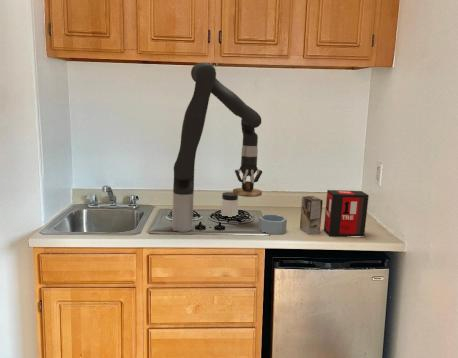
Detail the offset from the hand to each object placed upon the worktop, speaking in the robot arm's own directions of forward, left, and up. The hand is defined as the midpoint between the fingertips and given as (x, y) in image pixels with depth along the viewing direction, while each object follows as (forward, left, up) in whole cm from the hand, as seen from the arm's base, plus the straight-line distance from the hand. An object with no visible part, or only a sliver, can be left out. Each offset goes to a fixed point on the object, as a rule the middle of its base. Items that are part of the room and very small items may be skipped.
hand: (247, 190), depth 205 cm
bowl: (+11, -9, -17) cm, 22 cm away
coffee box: (+29, -11, -17) cm, 35 cm away
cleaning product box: (+44, -16, -18) cm, 50 cm away
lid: (0, 0, -2) cm, 2 cm away
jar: (-5, +15, -17) cm, 23 cm away
